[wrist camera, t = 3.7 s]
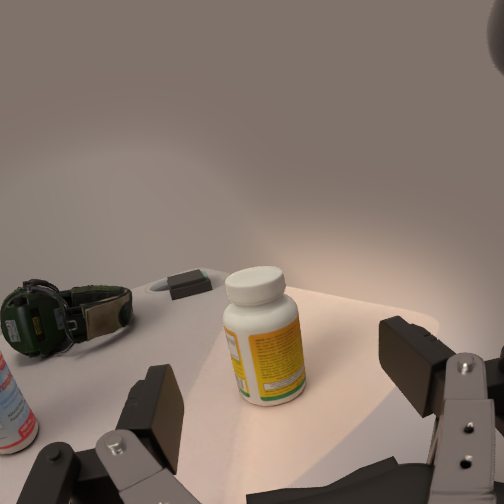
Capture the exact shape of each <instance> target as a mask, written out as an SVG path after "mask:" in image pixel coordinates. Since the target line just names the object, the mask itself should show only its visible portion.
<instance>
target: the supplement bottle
mask: <svg viewBox="0 0 504 504" xmlns="http://www.w3.org/2000/svg"><path fill="white" fill-rule="evenodd" d="M225 285H226V290H227V297H228V298H229V301H230V302H231V303H230V304H229V305H228V307H227V308H226V310H225V312H224V314H223V324H224V328H225V333H226V337H227V342H228V346H229V350H230V355H231V359H232V363H233V367H234V372H235V376H236V380H237V384H238V387H239V391H240V393H241V395H242V396H243V397H244V398H245V399H246V400H247V401H249V402H251V403H253V404H256V405H261V406H273V405H278V404H282V403H285V402H288V401H290V400H292V399H294V398H295V397H297V396H298V395H299V394H300V393H301V391H302V390H303V388H304V386H305V383H306V377H305V366H304V357H303V348H302V339H301V330H300V322H299V314H298V308H297V305H296V303H295V301H294V300H293V299H292V298H291V297H289V296H288V295H286V294H283V293H284V290H285V287H286V284H285V280H284V275H283V271H282V269H280V268H278V267H273V266H260V267H253V268H248V269H244V270H241V271H238V272H236V273H233V274H231V275H230V276H228V277H227V278H226V280H225Z"/></svg>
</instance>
